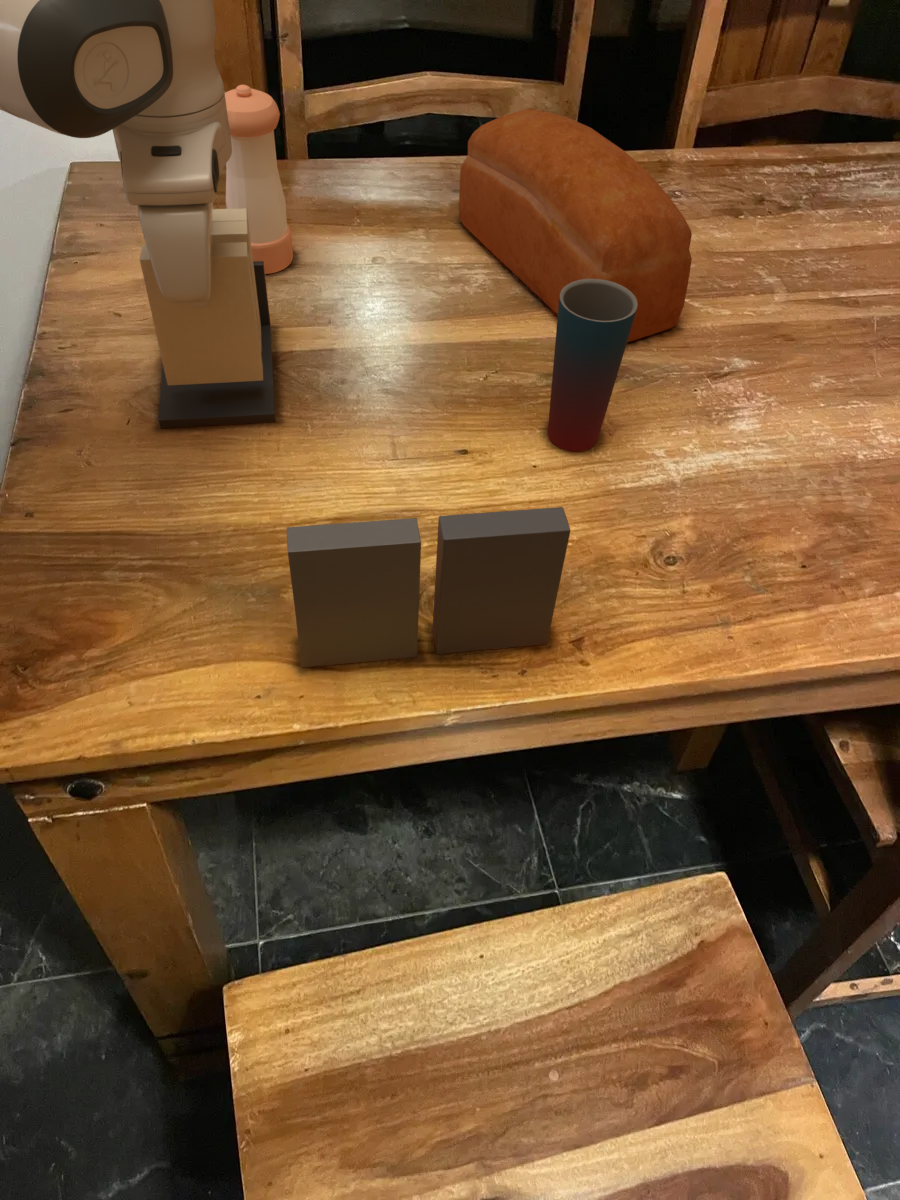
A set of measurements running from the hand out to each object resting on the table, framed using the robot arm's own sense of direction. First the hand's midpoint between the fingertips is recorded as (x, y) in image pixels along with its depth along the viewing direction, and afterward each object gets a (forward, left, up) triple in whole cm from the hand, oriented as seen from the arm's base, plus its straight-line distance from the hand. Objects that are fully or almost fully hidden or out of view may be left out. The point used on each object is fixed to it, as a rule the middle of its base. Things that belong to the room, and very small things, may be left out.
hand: (200, 291), depth 83 cm
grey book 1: (+28, -19, -12) cm, 36 cm away
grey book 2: (+37, -12, -12) cm, 41 cm away
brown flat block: (0, 0, -9) cm, 9 cm away
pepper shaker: (-13, +24, -12) cm, 30 cm away
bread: (+18, +42, -12) cm, 48 cm away
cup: (+32, +14, -12) cm, 37 cm away
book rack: (-3, +3, -12) cm, 13 cm away
